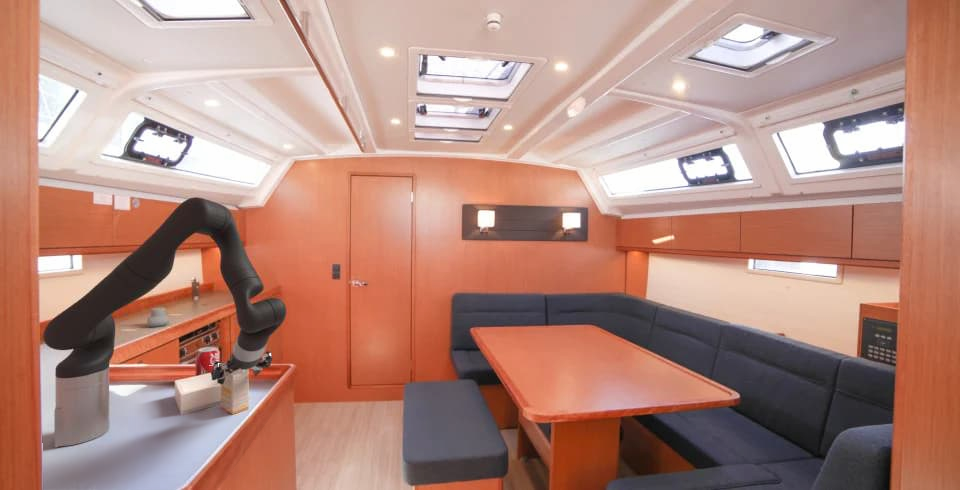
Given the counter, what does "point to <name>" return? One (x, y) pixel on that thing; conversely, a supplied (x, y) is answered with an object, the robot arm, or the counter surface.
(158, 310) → the air freshener
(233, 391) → the supplement box
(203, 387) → the bin
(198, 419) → the counter surface
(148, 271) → the robot arm
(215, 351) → the soda can
